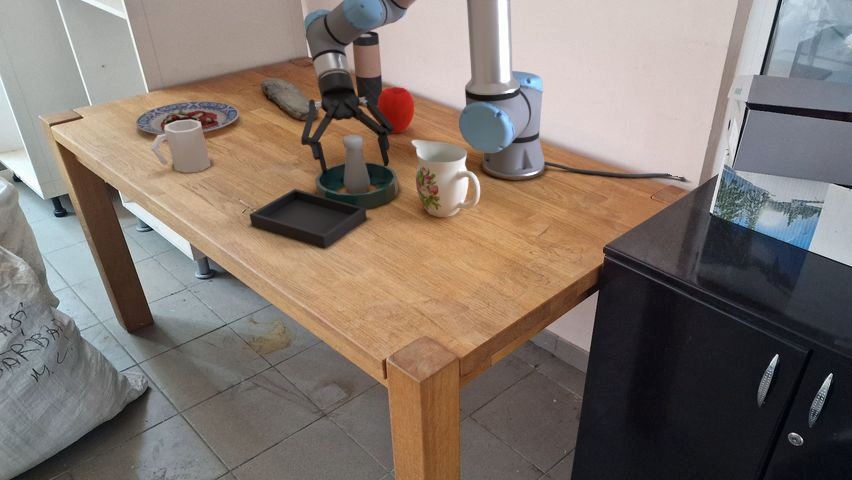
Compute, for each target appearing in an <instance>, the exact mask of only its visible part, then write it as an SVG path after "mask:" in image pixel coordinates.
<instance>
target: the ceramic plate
mask: <svg viewBox="0 0 852 480" xmlns="http://www.w3.org/2000/svg"><path fill="white" fill-rule="evenodd" d="M239 116H240V111H239V110H238V108H237V107H235V106H233V105H231V104H229V103H228V104H227V103H223V102H219V101H208V100H207V101H206V100H205V101H204V100H203V101H201V100H200V101H183V102H178V103H177V102H176V103H171V104H167V105H162V106H159V107H155V108H153V109H150V110H148V111H146V112H144V113H143V114H141V115H140V116H139V117H137V119H136V122H135V124H136V127H137V128H138V129H139V130H141V131H143V132H144V133H145V132H146V133H149V134H153V135H162V134H165V131H164V128H165V125H167V124H169V123H172V122H175V121H179V120H195V121H199V122H201V126H202V130H203V134H204V133H207V132H211V131H212V132H213V131H216V130H218V129H221V128H222V129H223V128H224V127H226V126H229V125H231V124H233V123H234V122H235V121H236V120H237V119H239Z"/></svg>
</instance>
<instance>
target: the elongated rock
mask: <svg viewBox="0 0 852 480" xmlns="http://www.w3.org/2000/svg"><path fill="white" fill-rule="evenodd" d="M260 87H261V90H262V92H264V94H266V95H267V96H268V100H271V101H273V102H274V103H276V104H278V106H279V107H280V108H282V109H283V110H284V111H286V112H287V113H288V114H289V115H290V116H291V117H292V118H295V119H298V120H300V121H306V120H307V117H308V113H309V100H310V99H309V98H308V96H306V95H305V94H304V93H303V92H302V90H301V88H300V87H299V86H296V85H295V84H294V83H291V82H289V81H286V80H284V79H281V78H276V77H275V78H274V77H273V78H272V77H271V78H266V79H263V80H261V82H260ZM318 115H319V111H318V112H315V117H314V120H317V119H318V117H319V116H318Z"/></svg>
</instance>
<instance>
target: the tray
mask: <svg viewBox="0 0 852 480" xmlns="http://www.w3.org/2000/svg"><path fill="white" fill-rule="evenodd" d="M367 219H368V218H367V209H366V208H363V207H359V206H356V205H352V204H348V203H345V202H341V201H337V200H334V199H330V198H326V197H323V196H319V195H318V194H317V193H316V194H315V193H311V192H308V191H305V190H300V189H297V188H294V189H291V190H290V191H288V192H287V193H285V194H283V195H281V196H279V197H278V198H276V199H274V200H272V201H271V202H269V203H267V204H265V205H263V206H261V207H260V208H258V209H257V210H255V211H252V212H251V213H249V220H250V223H251V226H252V227H255V228H258V229H261V230H264V231H268V232H271V233H275V234H278V235H281V236H284V237H287V238H291V239H293V240H297V241H300V242H304V243H307V244H310V245H313V246H316V247H320V248H323V249H327V248H328V247H329V246H330V245H332V244H334V243H335V242H336V241H338V240H340V239H341V238H342V237H343V236H345V235H346V234H348V233H349V232H351V231H352V230H353V229H355V228H356V227H357V226H359V225H360V224H362V223H363V222H365V221H366V220H367Z"/></svg>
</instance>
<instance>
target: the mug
mask: <svg viewBox="0 0 852 480" xmlns="http://www.w3.org/2000/svg"><path fill="white" fill-rule="evenodd" d="M164 131H165V134H162V135H159V134H156V135H157V136H156V137H155V138H154V140H153V142H152V144H151V145H150V149H151V151H152V152H153V153H154V155H155V156H156V158H157V159H158V161H159V162H160V163H161V164H162V166H166V165H167V164H168V163H169V162H168V161H167V159H166V158H165V157H164V155H163V154H162V153H161V151H160V150H159V149H160V147H161V145H162V143H163V141H166V142H167V146H168V150H169V153H170V158H171V160H172V161H171V162H172V164H173V169H174V170H175V171H177V172H179V173H184V174H189V173H198V172H202V171H204V170H206V169H207V168H209V167H211V160H210V157H209V152H208V148H207V147H208V146H207V143H206V139H205V134H204V133H203V130H202V126H201V122H199V121H195V120H179V121H175V122H172V123H169V124H167V125H165V128H164Z"/></svg>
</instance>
